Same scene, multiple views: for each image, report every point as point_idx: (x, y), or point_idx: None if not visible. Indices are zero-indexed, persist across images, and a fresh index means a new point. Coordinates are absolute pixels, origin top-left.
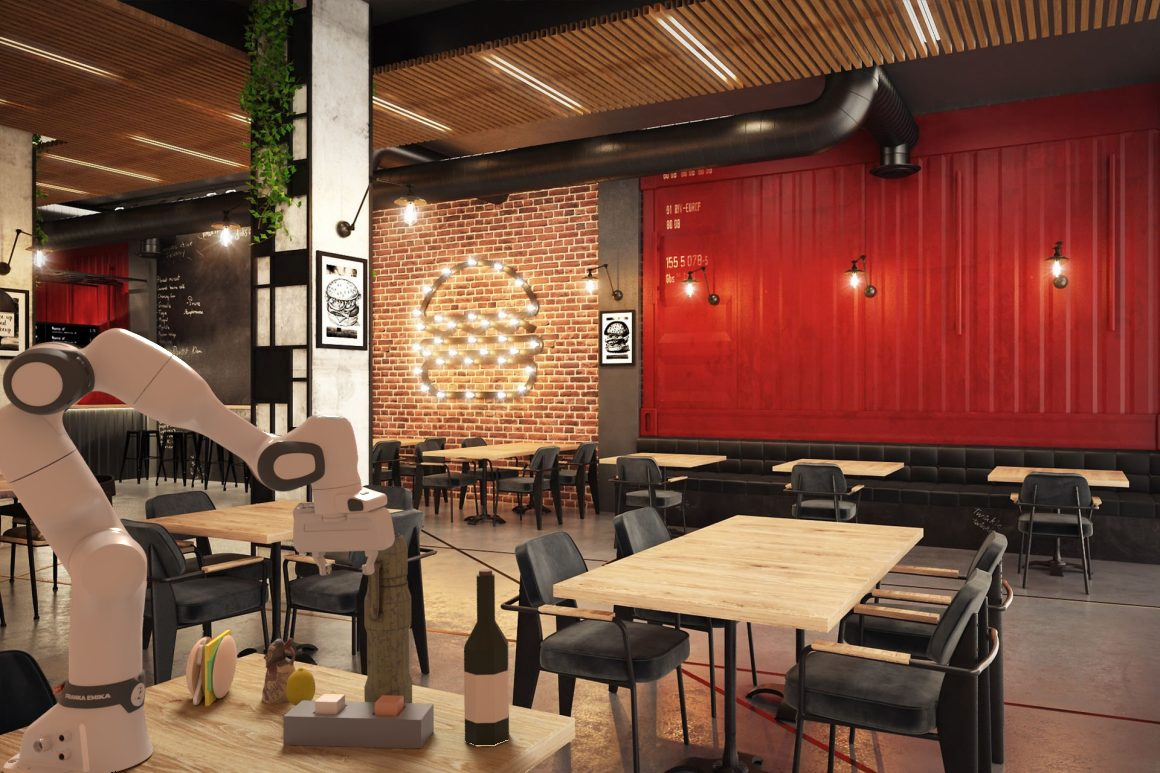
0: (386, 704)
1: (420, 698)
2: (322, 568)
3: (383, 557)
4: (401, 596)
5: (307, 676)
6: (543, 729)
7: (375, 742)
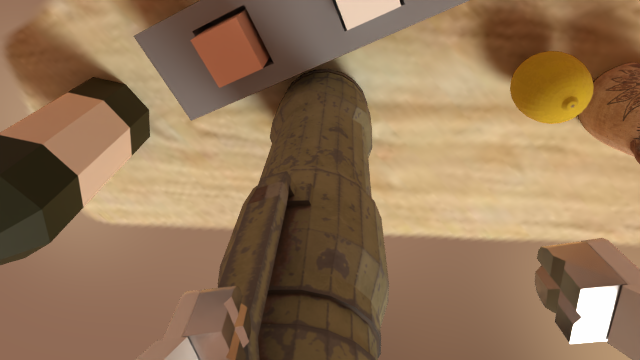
0: (211, 29)
1: None
2: (603, 273)
3: None
4: None
5: (538, 97)
6: None
7: None
